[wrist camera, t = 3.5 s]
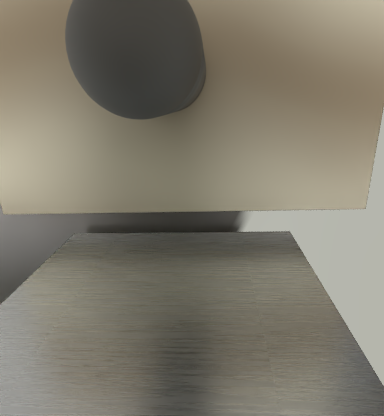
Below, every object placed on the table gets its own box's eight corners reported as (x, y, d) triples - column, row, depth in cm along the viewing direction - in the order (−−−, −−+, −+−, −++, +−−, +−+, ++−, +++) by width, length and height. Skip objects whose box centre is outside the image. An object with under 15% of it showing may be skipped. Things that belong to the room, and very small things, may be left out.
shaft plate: (348, 197, 9) (507, 308, 4) (24, 202, 9) (-159, 302, 5) (396, -117, 6) (936, -753, 2) (-46, -76, 7) (-561, -432, 2)
